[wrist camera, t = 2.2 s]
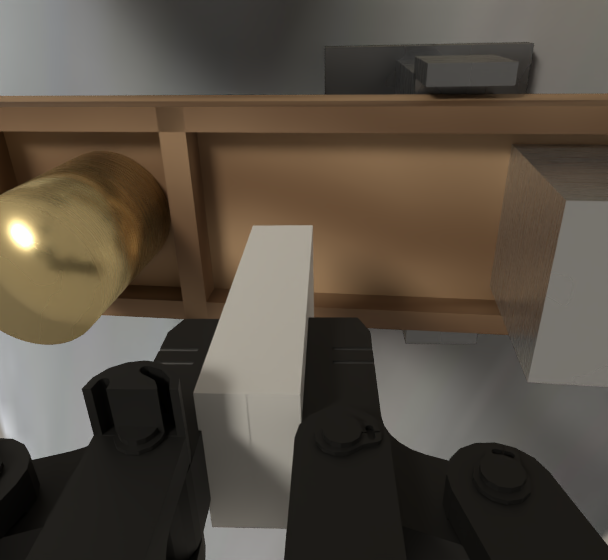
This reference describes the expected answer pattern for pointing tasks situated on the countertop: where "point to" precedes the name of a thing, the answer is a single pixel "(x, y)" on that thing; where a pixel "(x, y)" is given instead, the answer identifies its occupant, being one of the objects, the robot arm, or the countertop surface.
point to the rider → (555, 262)
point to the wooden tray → (314, 189)
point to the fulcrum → (429, 90)
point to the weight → (76, 244)
